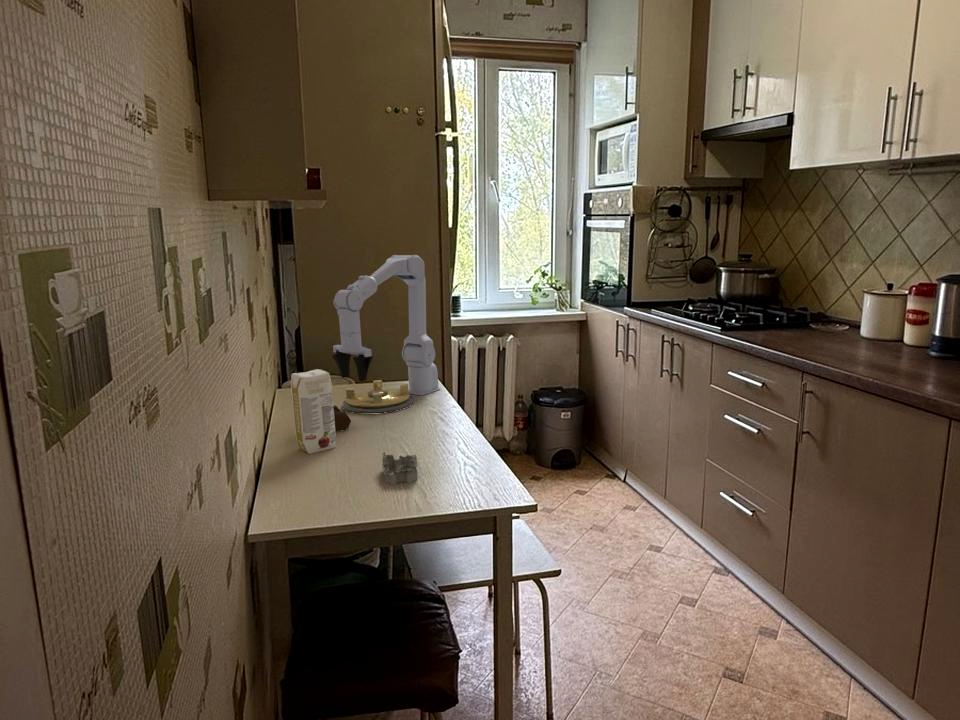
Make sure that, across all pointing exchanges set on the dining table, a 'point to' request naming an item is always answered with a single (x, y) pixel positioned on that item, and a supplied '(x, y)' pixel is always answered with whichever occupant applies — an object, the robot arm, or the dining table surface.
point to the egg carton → (400, 468)
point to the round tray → (377, 396)
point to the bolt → (341, 419)
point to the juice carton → (313, 411)
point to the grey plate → (377, 410)
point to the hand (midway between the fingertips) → (354, 378)
